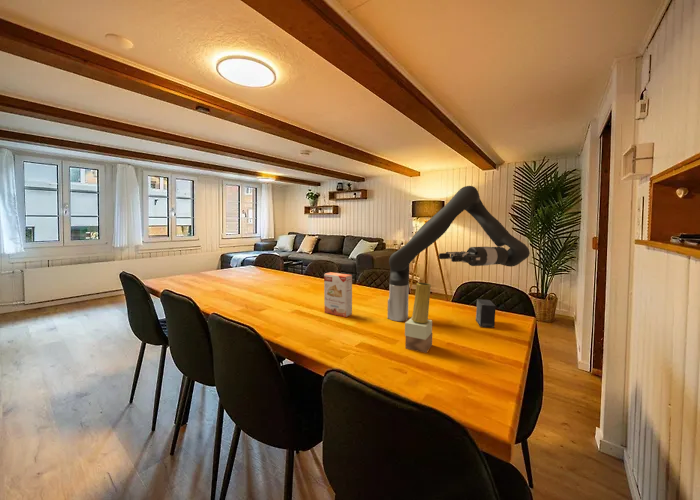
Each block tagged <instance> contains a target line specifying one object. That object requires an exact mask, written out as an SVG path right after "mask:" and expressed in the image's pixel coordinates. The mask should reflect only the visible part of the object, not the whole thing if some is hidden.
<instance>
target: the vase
mask: <svg viewBox="0 0 700 500" xmlns="http://www.w3.org/2000/svg"><path fill="white" fill-rule="evenodd" d="M415 285H416V287H415V294H414V303H413V310H412V316H411V318H412V320H413V321H415V322H418V323H427V322H428V320H429V312H430V311H429V309H430V298H431V297H430V295H431V287H432V285H431V283H427V282H416V283H415Z"/></svg>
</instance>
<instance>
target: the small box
mask: <svg viewBox="0 0 700 500" xmlns="http://www.w3.org/2000/svg"><path fill="white" fill-rule="evenodd" d="M496 308H497V307H496V305H495V303H494V302H492V300H490V299H480V298H479V299H478V298H477V299H476V311H475V313H476V314H475V321H476V323H477V325H478V326H479V327H480V328H489V329H495V326H496V325H495V322H496Z"/></svg>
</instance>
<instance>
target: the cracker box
mask: <svg viewBox="0 0 700 500" xmlns="http://www.w3.org/2000/svg"><path fill="white" fill-rule="evenodd" d="M323 281H324V282H323V284H324V286H323V287H324V289H323V290H324V292H323V293H324V313H326V314H331V315H335V316H338V317H339V316H340V317H344V318H347V317H349V316H351V315H353V275H352V274H346V273H340V272H331V271H329V272H326V273H324V275H323Z"/></svg>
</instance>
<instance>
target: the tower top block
mask: <svg viewBox="0 0 700 500" xmlns="http://www.w3.org/2000/svg"><path fill="white" fill-rule="evenodd" d="M431 333H432V334H433V320H432V319H428V322H427V323H418V322H415V321H413V320H412V317H411V318H408V320H406V321H405V322H404V336H405V337H406V336H409V337H414V338H419V339H424V340H426V339H427V338H428V337H429V336H430V334H431Z"/></svg>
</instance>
